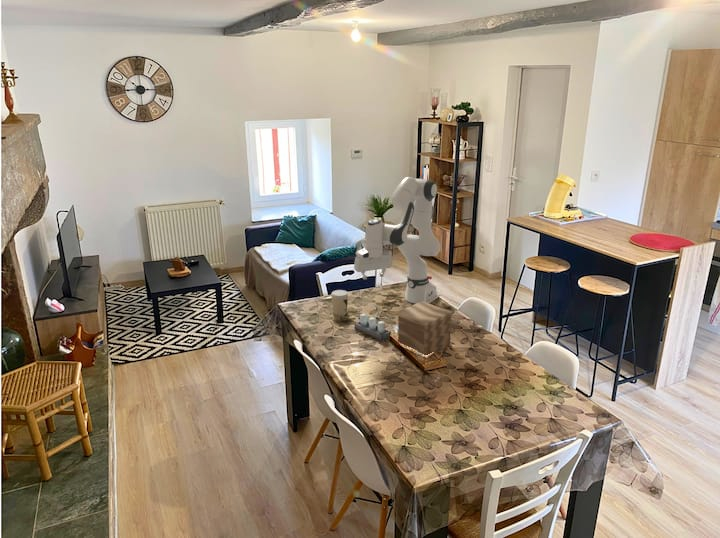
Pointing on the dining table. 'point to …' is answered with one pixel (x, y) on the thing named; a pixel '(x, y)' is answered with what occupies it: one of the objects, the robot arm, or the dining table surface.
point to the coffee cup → (339, 302)
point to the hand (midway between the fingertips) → (373, 277)
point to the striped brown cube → (424, 327)
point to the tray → (372, 333)
